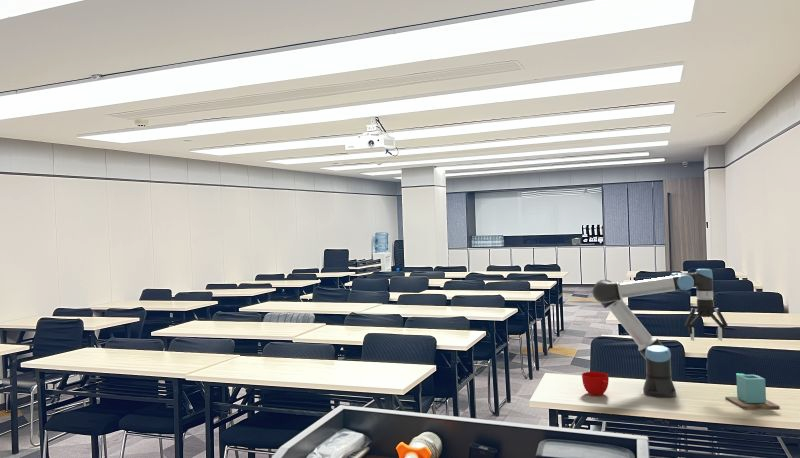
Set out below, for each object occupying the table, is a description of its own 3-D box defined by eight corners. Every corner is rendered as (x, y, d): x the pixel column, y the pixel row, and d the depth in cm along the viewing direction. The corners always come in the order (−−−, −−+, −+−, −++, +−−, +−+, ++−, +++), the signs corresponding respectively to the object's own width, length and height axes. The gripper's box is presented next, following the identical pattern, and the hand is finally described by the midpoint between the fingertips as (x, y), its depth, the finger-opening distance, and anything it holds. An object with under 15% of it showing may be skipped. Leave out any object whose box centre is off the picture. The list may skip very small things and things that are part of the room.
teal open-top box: (737, 397, 271) (736, 374, 271) (755, 397, 270) (754, 374, 270) (747, 403, 262) (746, 378, 262) (766, 402, 262) (765, 378, 262)
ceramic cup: (595, 400, 278) (594, 380, 278) (577, 392, 295) (577, 372, 295) (619, 398, 281) (618, 378, 281) (600, 389, 298) (599, 370, 298)
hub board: (743, 409, 259) (742, 383, 259) (725, 399, 274) (724, 375, 275) (779, 408, 258) (778, 383, 258) (759, 398, 274) (758, 374, 274)
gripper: (682, 299, 289) (683, 341, 289) (734, 299, 286) (735, 341, 286) (677, 298, 297) (678, 338, 296) (727, 297, 294) (728, 338, 294)
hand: (706, 340), depth 291 cm, fingers open, 13 cm apart
